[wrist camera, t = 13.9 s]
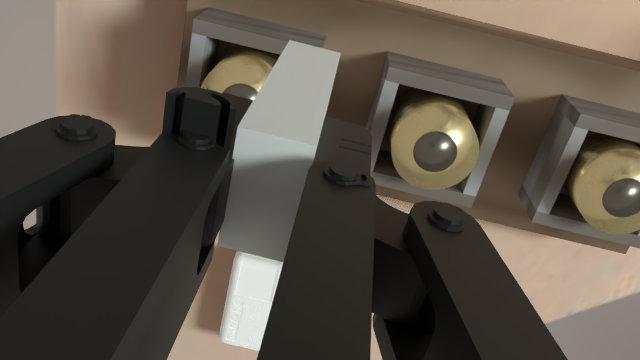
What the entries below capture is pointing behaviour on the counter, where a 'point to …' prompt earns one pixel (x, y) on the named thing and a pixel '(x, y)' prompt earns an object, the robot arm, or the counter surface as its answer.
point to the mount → (452, 80)
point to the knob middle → (432, 139)
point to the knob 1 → (241, 72)
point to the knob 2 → (606, 183)
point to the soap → (249, 300)
